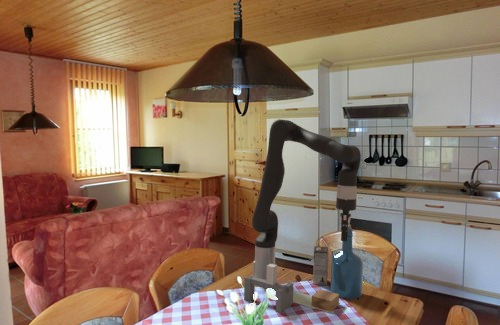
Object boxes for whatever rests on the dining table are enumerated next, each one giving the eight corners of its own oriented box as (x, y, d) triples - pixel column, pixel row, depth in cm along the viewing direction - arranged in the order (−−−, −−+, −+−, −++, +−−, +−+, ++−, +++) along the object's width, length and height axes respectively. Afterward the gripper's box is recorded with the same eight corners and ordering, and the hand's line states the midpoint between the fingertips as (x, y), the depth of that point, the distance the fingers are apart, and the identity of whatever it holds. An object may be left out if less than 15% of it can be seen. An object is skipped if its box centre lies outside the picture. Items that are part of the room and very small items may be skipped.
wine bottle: (344, 286, 161) (346, 220, 160) (368, 297, 150) (371, 226, 149) (322, 292, 154) (324, 223, 153) (346, 304, 143) (348, 229, 142)
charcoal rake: (239, 302, 143) (239, 262, 142) (252, 294, 151) (253, 256, 151) (280, 315, 132) (281, 272, 132) (292, 305, 141) (293, 265, 140)
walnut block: (311, 306, 138) (311, 295, 138) (319, 299, 145) (320, 289, 145) (331, 311, 134) (331, 301, 134) (338, 304, 140) (339, 294, 140)
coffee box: (313, 279, 170) (314, 245, 170) (327, 280, 169) (328, 246, 168) (312, 286, 161) (313, 251, 161) (327, 287, 160) (328, 252, 159)
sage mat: (283, 301, 144) (283, 299, 144) (294, 293, 152) (294, 291, 152) (330, 315, 133) (330, 312, 133) (339, 305, 141) (339, 303, 141)
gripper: (337, 193, 146) (335, 233, 147) (335, 198, 133) (333, 241, 133) (356, 195, 144) (354, 235, 145) (356, 200, 130) (354, 244, 131)
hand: (344, 238), depth 139 cm, fingers open, 8 cm apart
